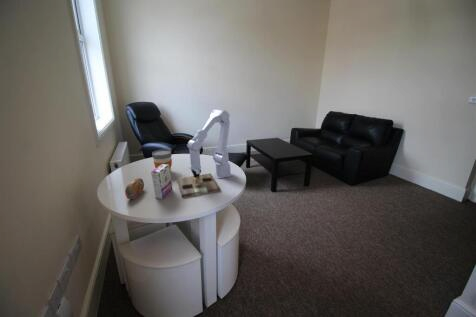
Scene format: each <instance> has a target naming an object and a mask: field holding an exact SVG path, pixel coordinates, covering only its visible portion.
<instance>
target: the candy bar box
mask: <svg viewBox="0 0 476 317" xmlns="http://www.w3.org/2000/svg"><path fill="white" fill-rule="evenodd" d="M150 173H151V179H152V185H153V190H154V197H155V199H158V200H159V199H160V200H164V199H165V198H166V197H167V196H168V195H169V194H170V193H171V192H172V191H173V185H172V177H171V173H170V168H169V165H167V164H161V165H160V166H159V167H157V168H155V169H153V170H151V171H150Z"/></svg>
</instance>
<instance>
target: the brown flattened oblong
mask: <svg viewBox="0 0 476 317" xmlns="http://www.w3.org/2000/svg"><path fill="white" fill-rule="evenodd" d="M144 188H145V183H144V180H143V178H135V179H133V180H132V181H131V182H130V183H129V184H128V185H127V186H126V187H125V190H124V191H125V197H126V198H127V200H134V199H136V198H137V197H138V196H139V195H140V194H142V192H143V191H144Z"/></svg>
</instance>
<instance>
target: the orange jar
mask: <svg viewBox="0 0 476 317" xmlns="http://www.w3.org/2000/svg"><path fill="white" fill-rule="evenodd" d="M152 159H153V164H154V167H155V169H156V168H157V167H159V166H160V165H161V164H167V165H169V168H170V174H171V172H172V166H173V162H172V161H173V159H172V151H171V150H170V149H158V150H155V151H152Z"/></svg>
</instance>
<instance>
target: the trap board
mask: <svg viewBox="0 0 476 317" xmlns="http://www.w3.org/2000/svg"><path fill="white" fill-rule="evenodd" d="M200 177H201V179H202V185H199V186H195V184H194V175H192V176H185V177H179V178H176V180H177V185H178V189H179V192H180V196H181V198H187V197H194V196H199V195H205V194H210V193H216V192H220V191H221V187H220V185H219V184H218V182H217V181H216V179H215V177H214V176H213V175H212V173H204V174H200Z"/></svg>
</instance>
